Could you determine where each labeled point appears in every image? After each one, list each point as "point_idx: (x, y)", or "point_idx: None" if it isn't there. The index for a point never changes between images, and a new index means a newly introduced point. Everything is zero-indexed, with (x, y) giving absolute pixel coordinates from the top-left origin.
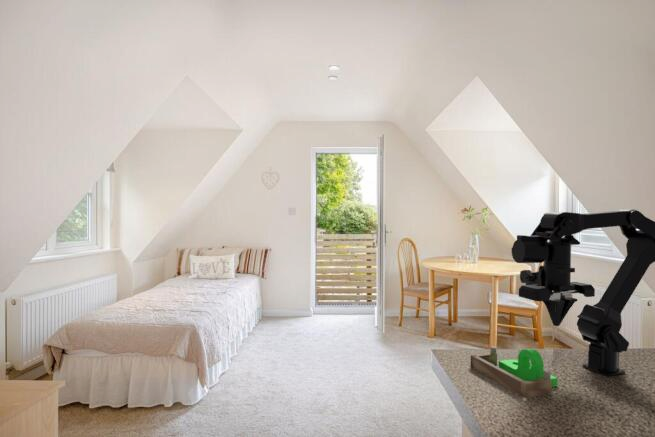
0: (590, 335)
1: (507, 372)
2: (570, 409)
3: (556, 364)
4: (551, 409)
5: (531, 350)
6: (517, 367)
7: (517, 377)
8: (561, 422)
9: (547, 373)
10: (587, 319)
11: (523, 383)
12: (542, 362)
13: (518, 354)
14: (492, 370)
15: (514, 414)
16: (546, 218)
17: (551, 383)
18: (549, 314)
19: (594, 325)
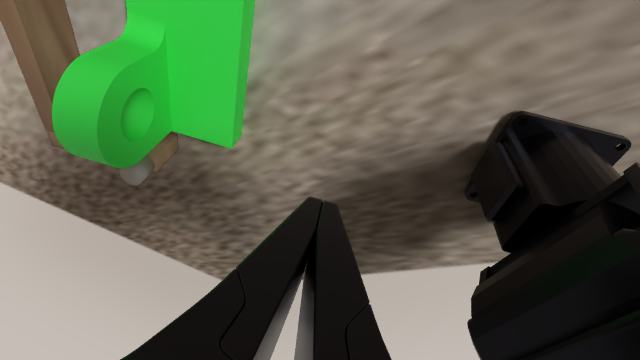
0: (508, 269)
1: (32, 59)
2: (162, 201)
3: (454, 26)
4: (118, 181)
5: (75, 145)
6: (154, 5)
7: (50, 106)
8: (103, 209)
9: (126, 180)
10: (559, 358)
11: (50, 138)
12: (131, 163)
13: (73, 61)
14: None
15: (16, 148)
16: None
17: (161, 166)
18: (252, 251)
19: (503, 353)
